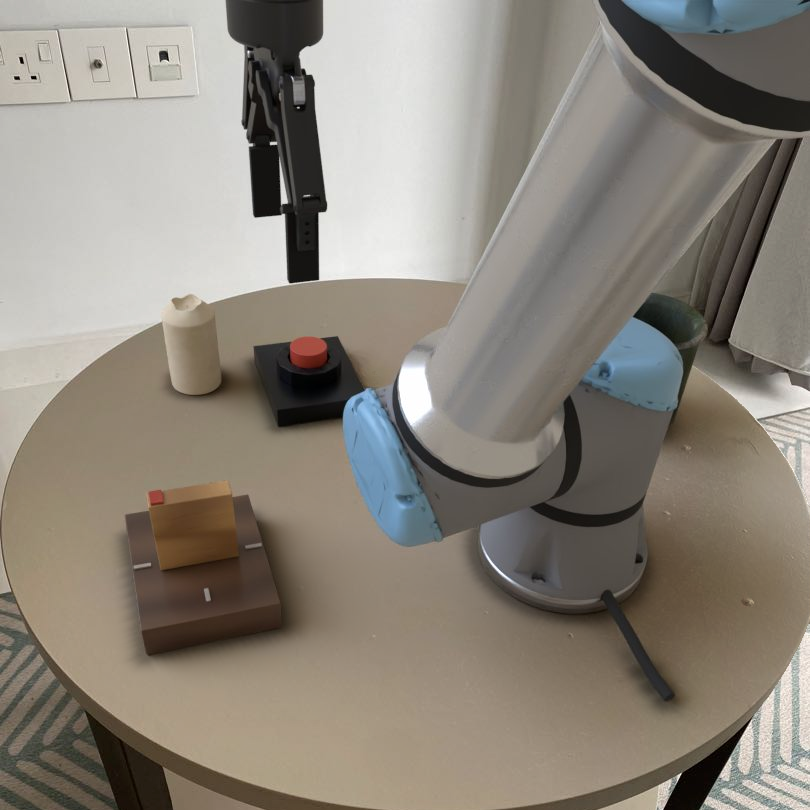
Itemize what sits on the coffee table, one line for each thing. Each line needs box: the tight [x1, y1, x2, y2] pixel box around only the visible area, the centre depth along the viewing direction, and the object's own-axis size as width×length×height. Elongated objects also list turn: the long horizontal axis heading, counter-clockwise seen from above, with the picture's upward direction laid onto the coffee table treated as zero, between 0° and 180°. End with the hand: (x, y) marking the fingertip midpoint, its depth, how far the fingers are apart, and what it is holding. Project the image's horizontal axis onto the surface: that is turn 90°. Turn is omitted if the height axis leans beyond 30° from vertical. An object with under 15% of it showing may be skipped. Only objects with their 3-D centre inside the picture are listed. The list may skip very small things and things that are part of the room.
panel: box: [124, 494, 283, 656], centre depth 75 cm, size 14×11×3 cm
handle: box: [145, 480, 239, 570], centre depth 71 cm, size 6×2×7 cm, turn 108°
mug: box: [633, 292, 709, 430], centre depth 92 cm, size 11×15×12 cm
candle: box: [160, 293, 222, 396], centre depth 94 cm, size 6×6×10 cm
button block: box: [253, 335, 366, 428], centre depth 97 cm, size 13×10×4 cm
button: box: [290, 336, 327, 368], centre depth 95 cm, size 4×4×2 cm
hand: (284, 246), depth 81 cm, fingers open, 13 cm apart
